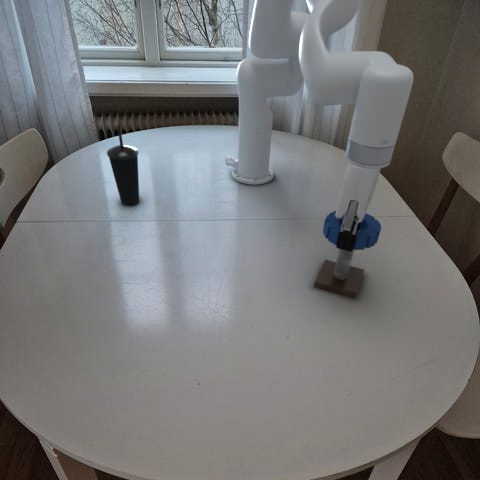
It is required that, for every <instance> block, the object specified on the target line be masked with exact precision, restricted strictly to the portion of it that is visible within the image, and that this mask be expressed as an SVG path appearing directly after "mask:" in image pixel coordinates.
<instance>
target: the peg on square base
mask: <svg viewBox="0 0 480 480" xmlns="http://www.w3.org/2000/svg"><path fill="white" fill-rule="evenodd" d="M354 253H355V250H354V249H353V251H352V252H349V251H345V250H341V249H338V253H337V257H336V261H333V260H328V259H324V261H323V264H322V266H321V268H320V270H319V272H318V274H317V276H316V278H315V281H314V285H313V288H316V289H320V290H322V291H326V292H330V293H334V294H338V295H341V296H344V297H349V298H351V299H356V297H357V294H358V291H359V289H360V285H361V282H362V280H363V277H364V274H365V269H364V268H361V267H356V266H352V265H351V264H352V260H353V257H354Z"/></svg>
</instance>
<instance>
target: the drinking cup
mask: <svg viewBox="0 0 480 480" xmlns="http://www.w3.org/2000/svg"><path fill="white" fill-rule="evenodd" d="M116 127H117V133H118V139H119V145H115V146H113V147H111V148H109V149H108V150H107V151H106V155H107V157H108V159H109V163H110V166H111V169H112V173H113V177H114V181H115V184H116V188H117V191H118V196H119V199H120V202H121V204H122V205H123V206H126V207H133V206H136V205H138V204H140V184H139V183H140V182H139V158H138V157H139V156H138V155H139V150H138V148H137V147H135V146H131V145H128V144H127V145H126V144H124V142H123V136H122V130H121V124H117V125H116Z"/></svg>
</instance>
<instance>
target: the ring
mask: <svg viewBox="0 0 480 480" xmlns="http://www.w3.org/2000/svg"><path fill="white" fill-rule="evenodd" d="M335 214H336V210H334V211H332V212H329V214H327V215H326V217H325V219H324V223H323V228H322V234H323V236H324V238H325V239H326V240H327V241H328V242H330V243H331V244H333V246H334V245H335V246H336V244H337V240H338V236H339V231H340V229H341V226H342V222H343V217H344V215H343V216H342V218H336V216H335ZM360 223H361V226H360V230H359V231H356V233H357V236H356V240H355V244H354V248H353V249H354V251H361V250H366V249H367V250H368V249H370V248H372V247H375V246H376V244H377V243H378V241H379V237H380V235H381V231H382V224H381V222H380V221H379V220H378V219H376V217H375V216H373V215H371V214H369V213H367V212H366V213H365V216H364V218H363V220H362V222H360Z"/></svg>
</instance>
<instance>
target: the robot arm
mask: <svg viewBox="0 0 480 480" xmlns="http://www.w3.org/2000/svg"><path fill="white" fill-rule="evenodd" d="M294 3H295V0H254V4H253V10H252V16H251V22H250V23H251V24H250V29H249V35H248V48H249V51H250V53H251V54H252V55H253V56H249V57H246V58H244V59H242V60H241V61H240V62H239V63H238V65H237V68H236V84H237V93H238V94H237V95H238V132H237V133H238V135H237V156H236V157H233V156H230V155H226V156H225V159H224V161H225V166H227V167H232V169H231V176H232V178H233V179H234V180H235V181H237V182H239V183H242V184H245V185H263V184H267V183H269V182H271V181H272V180H273V178H274V171H273V170H272V169H271V168H270V157H271V146H272V133H273V122H274V115H273V111H272V109H271V107H270V106H269V104H268V102H267V101H266V99H269V98H271V99H272V98H284V97H293V96H295V95H296V94H297V93H299V91H300V89H301V88H302V85H303V83H304V85H305V88H306V90H307V93H308V95H309V97H310V99H312V101H313V102H314V103H316V104H318V105H320V106H325V107H326V106H343V105H354V110H353V115H352V119H351V125H350V129H349V134H348V139H347V144H346V147H345V148H346V149H345V154H344V159H345V160H346V161H347V162H348V165H347V168H346V171H345V175H344V178H343V182H342V185H341V186H342V187H341V190H340V195H339V199H338V202H337V207H336V210H335V211H336V214H335V216H336V218H342V216H343V215H344V217H343V222H342V226H341V229H340V231H339V236H338V240H337V244H336V245H335V248H336V249H338V250H339V249H341V250H345V251H349V252H352V251H353V248H354V244H355V240H356V236H357V233H356V231H360V226H361V223H360V222H362V220H363V218H364V216H365V214H366V213H367V211H368V209H369V206H370V205H371V201H372V199H373V196H374V193H375V190H376V187H377V183H378V180H379V177H380V173H381V169H383V168H386V167H388V166H389V165H390V164H391V161H392V158H393V154H394V151H395V147H396V143H397V140H398V136H399V134H400V130H401V126H402V123H403V120H404V116H405V113H406V112H405V111H406V110H407V105H408V102H409V98H410V96H411V91H412V87H413V83H414V79H415V78H414V73H413V71H412V70H411V69H410V68H409V67H408V66H406V65H402V64H399V63H397V62H396V61H395V60H394V59H393V57H392V56H391V55H390V54H389V53H387V52H384V51H380V50H364V51H361V50H349V51H348V50H347V51H345V50H344V51H330V50H328V48H327V47H326V44H325V41H324V40H325V39H326V38H328V37H330V36H331V35H333V34H335V33H337V32H339V31H340V30H342V29H343V28H344V27H346V26H347V25H348V24H349V23H350V22H351V21H353V18H354V17H355V16H356V15H357V13H358V12H359V8H360V5H361V0H305V3H306V6H307V9H308V13H309V14H308V13H307V12H304V11H292V10H293V6H294Z"/></svg>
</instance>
